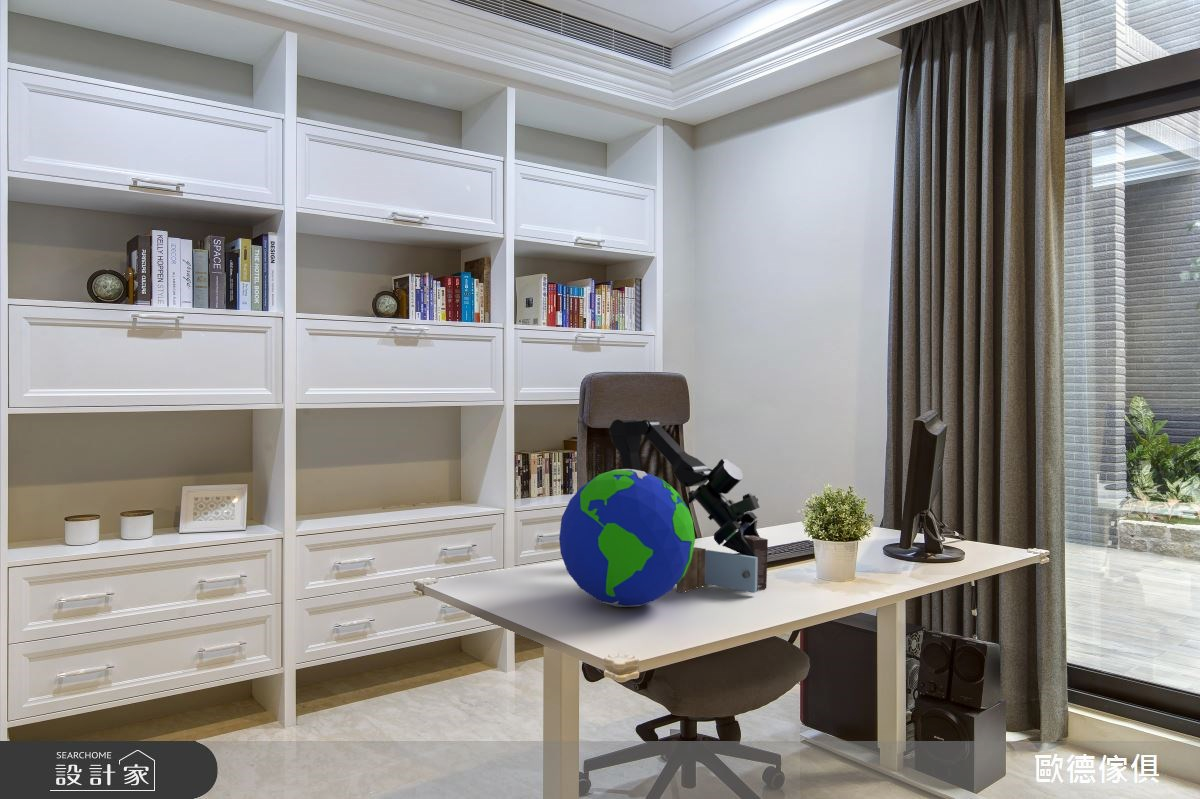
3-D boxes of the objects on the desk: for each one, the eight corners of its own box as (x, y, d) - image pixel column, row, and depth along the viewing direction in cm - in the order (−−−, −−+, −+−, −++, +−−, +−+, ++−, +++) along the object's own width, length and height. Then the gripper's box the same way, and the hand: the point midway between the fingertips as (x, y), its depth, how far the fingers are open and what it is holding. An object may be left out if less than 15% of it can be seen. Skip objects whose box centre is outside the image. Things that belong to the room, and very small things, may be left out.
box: (767, 589, 197) (768, 539, 197) (751, 590, 195) (752, 540, 195) (753, 583, 203) (754, 534, 202) (738, 584, 201) (738, 535, 201)
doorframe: (685, 593, 192) (686, 554, 192) (674, 591, 194) (675, 552, 194) (731, 576, 210) (732, 541, 209) (721, 574, 211) (721, 539, 211)
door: (702, 585, 196) (702, 551, 196) (707, 583, 198) (707, 549, 198) (752, 593, 188) (753, 558, 188) (757, 591, 190) (757, 557, 190)
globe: (545, 620, 168) (547, 474, 168) (570, 585, 198) (572, 461, 197) (692, 628, 164) (694, 478, 164) (695, 591, 194) (697, 464, 193)
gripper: (727, 487, 191) (774, 539, 187) (749, 479, 208) (792, 527, 204) (694, 518, 195) (739, 570, 190) (719, 508, 212) (760, 555, 207)
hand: (759, 554), depth 198 cm, fingers open, 9 cm apart
